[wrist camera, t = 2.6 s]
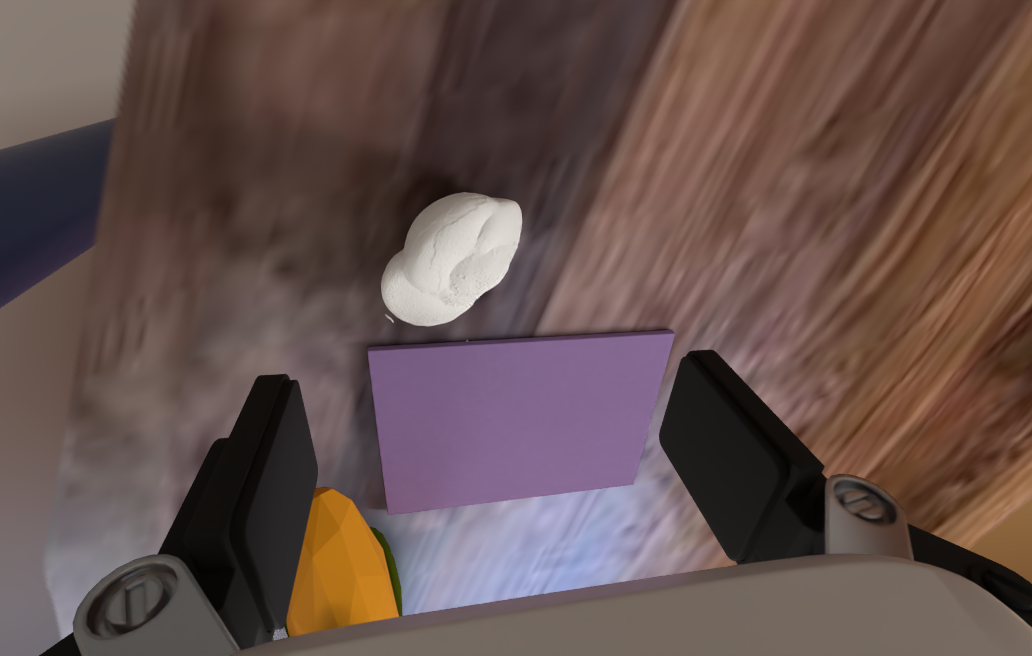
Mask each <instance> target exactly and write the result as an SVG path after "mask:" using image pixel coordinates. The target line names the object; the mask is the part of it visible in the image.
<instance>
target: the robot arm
mask: <svg viewBox="0 0 1032 656" xmlns="http://www.w3.org/2000/svg"><path fill="white" fill-rule="evenodd" d="M659 440H660V444H661V446H662V448H663V450H664V451H665V453H666V455H667V456H668V458H669V460H670V461H671V463H672V465H673V466H674V468H675V470H676V471H677V473H678V475H679V476H680V478H681V480H682V481H683V483H684V485H685V486H686V488H687V490H688V491H689V493H690V495H691V496H692V498H693V500H694V501H695V503H696V505H697V506H698V508H699V510H700V511H701V513H702V515H703V516H704V518H705V520H706V521H707V523H708V525H709V526H710V528H711V530H712V531H713V533H714V535H715V536H716V538H717V540H718V541H719V543H720V545H721V546H722V548H723V550H724V551H725V553H726V555H727V556H728V557H729V558H730V559H731V560H733V561H736V563H737V564H738V565H734V566H728V567H721V568H714V569H707V570H700V571H693V572H687V573H680V574H673V575H666V576H659V577H652V578H646V579H639V580H633V581H626V582H619V583H613V584H606V585H600V586H593V587H586V588H580V589H573V590H567V591H560V592H554V593H547V594H541V595H534V596H528V597H521V598H515V599H508V600H502V601H496V602H489V603H483V604H477V605H470V606H464V607H458V608H451V609H445V610H439V611H432V612H426V613H420V614H413V615H407V616H401V617H395V618H389V619H384V620H378V621H372V622H366V623H361V624H355V625H349V626H344V627H338V628H332V629H326V630H321V631H315V632H311V633H306V634H302V635H297V636H293V637H288V638H284V639H279V640H275V641H272V639H273V635H274V631H275V630H278V629H282V628H283V627H284V625H285V622H286V618H287V614H288V609H289V605H290V600H291V596H292V591H293V587H294V582H295V578H296V573H297V569H298V564H299V560H300V555H301V550H302V546H303V541H304V537H305V532H306V528H307V523H308V519H309V514H310V510H311V505H312V501H313V496H314V492H315V487H316V482H317V476H318V466H317V460H316V456H315V452H314V447H313V443H312V439H311V434H310V430H309V425H308V421H307V417H306V412H305V408H304V403H303V399H302V395H301V390H300V386H299V382H298V381H297V380H290V378H289V376H288V375H287V374H278V375H260V376H258V377H257V378H256V380H255V382H254V384H253V387H252V389H251V391H250V393H249V395H248V397H247V400H246V402H245V404H244V406H243V408H242V410H241V413H240V415H239V417H238V419H237V421H236V423H235V426H234V428H233V430H232V432H231V434H230V436H229V438H221V439H217V440H216V441H215V442H214V443H213V445H212V446H211V448H210V450H209V452H208V454H207V456H206V458H205V460H204V462H203V464H202V466H201V468H200V470H199V472H198V474H197V476H196V478H195V480H194V482H193V484H192V486H191V488H190V490H189V492H188V494H187V496H186V498H185V500H184V502H183V504H182V506H181V508H180V510H179V512H178V514H177V516H176V518H175V520H174V522H173V524H172V526H171V528H170V530H169V532H168V534H167V536H166V538H165V540H164V542H163V544H162V546H161V548H160V550H159V552H158V554H157V555H149V556H146V557H142V558H139V559H135V560H133V561H131V562H129V563H127V564H125V565H123V566H121V567H119V568H117V569H116V570H114V571H113V572H111V573H110V574H109V575H107V576H106V577H104V578H103V579H102V580H101V581H100V582H99V583H98V584H97V585H95V586H94V587H93V588H92V589H91V590H90V591H89V592H88V594H87V595H86V596H85V598H84V599H83V601H82V602H81V604H80V605H79V607H78V608H77V611H76V614H75V617H74V620H73V633H71V634H70V635H68V636H67V637H65V638H64V639H62V640H61V641H60V642H58V643H57V644H55V645H54V646H53V647H51V648H49V649H48V650H47V651H45V652H44V653H43V654H41V655H39V656H1032V584H1031V583H1030V582H1029V581H1027V580H1026V579H1024V578H1023V577H1021V576H1020V575H1019V574H1017V573H1016V572H1014V571H1012V570H1010V569H1008V568H1006V567H1004V566H1002V565H1001V564H999V563H996V562H994V561H992V560H990V559H987V558H985V557H983V556H980V555H978V554H976V553H973V552H971V551H969V550H967V549H964V548H962V547H960V546H958V545H955V544H953V543H951V542H949V541H946V540H944V539H942V538H939V537H937V536H935V535H933V534H930V533H928V532H926V531H923V530H921V529H919V528H917V527H914V526H912V525H910V524H908V523H907V518H906V515H905V513H904V510H903V508H902V507H901V506H900V504H899V503H898V502H897V500H896V499H895V498H893V497H892V496H891V495H890V494H889V493H888V492H887V491H885V490H884V489H882V488H881V487H879V486H878V485H876V484H875V483H872V482H870V481H868V480H866V479H864V478H861V477H857V476H854V475H849V474H837V475H832V476H831V477H830V478H828V479H827V478H826V477H825V476H824V475H823V474H822V473H821V472H822V471H823V469H824V467H825V466H824V465H823V464H822V463H821V462H820V461H819V460H818V459H817V458H816V457H815V456H814V455H813V454H812V453H811V451H810V450H809V449H808V448H807V447H806V446H805V445H804V444H803V443H802V442H801V441H800V440H799V439H798V438H797V437H796V436H795V435H794V434H793V433H792V431H791V430H790V429H789V428H788V427H787V426H786V425H785V424H784V423H783V422H782V421H781V420H780V419H779V418H778V417H777V416H776V415H775V414H774V413H773V411H772V410H771V409H770V408H769V407H768V406H767V405H766V404H765V403H764V402H763V401H762V400H761V399H760V398H759V397H758V396H757V395H756V394H755V393H754V392H753V390H752V389H751V388H750V387H749V386H748V385H747V384H746V383H745V382H744V381H743V380H742V379H741V378H740V377H739V376H738V375H737V374H736V373H735V372H734V370H733V369H732V368H731V367H730V366H729V365H728V364H727V363H726V362H725V361H724V360H723V359H722V358H721V357H720V356H719V355H718V354H717V353H716V352H715V351H714V350H697V351H690V352H689V353H688V354H687V356H686V357H683V358H682V359H681V362H680V365H679V368H678V371H677V375H676V378H675V382H674V385H673V388H672V392H671V395H670V398H669V402H668V405H667V409H666V412H665V415H664V419H663V422H662V425H661V429H660V433H659Z"/></svg>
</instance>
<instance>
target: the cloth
mask: <svg viewBox="0 0 1032 656" xmlns="http://www.w3.org/2000/svg"><path fill="white" fill-rule="evenodd" d="M674 335H675V333H674V332H673V331H672V330H660V331H642V332H625V333H607V334H589V335H572V336H554V337H536V338H519V339H501V340H483V341H466V342H448V343H430V344H413V345H395V346H377V347H368V350H367V353H368V361H369V369H370V377H371V385H372V393H373V401H374V409H375V417H376V425H377V433H378V441H379V449H380V457H381V465H382V473H383V481H384V489H385V497H386V505H387V513H388V515H395V514H403V513H411V512H419V511H426V510H434V509H442V508H450V507H458V506H466V505H474V504H482V503H490V502H498V501H506V500H514V499H522V498H530V497H538V496H546V495H554V494H562V493H570V492H578V491H586V490H594V489H602V488H609V487H617V486H625V485H633V484H634V480H635V476H636V473H637V469H638V466H639V462H640V458H641V455H642V451H643V447H644V444H645V440H646V437H647V433H648V429H649V426H650V422H651V418H652V415H653V411H654V408H655V404H656V400H657V397H658V393H659V389H660V386H661V382H662V379H663V375H664V371H665V368H666V364H667V360H668V357H669V353H670V350H671V346H672V342H673V339H674Z"/></svg>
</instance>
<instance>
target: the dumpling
mask: <svg viewBox="0 0 1032 656" xmlns="http://www.w3.org/2000/svg"><path fill="white" fill-rule="evenodd" d="M521 226H522V214H521V209H520V207H519V205H518V204H517V203H516V202H515V201H512V200H509V199H503V198H491V197H488V196H485V195H482V194H477V193H467V192H463V193H456V194H452V195H449V196H446V197H444V198H441V199H439V200H437V201H436V202H433V203H432V204H431V205H429V206H428V207H427V208H425V209H424V210H423V211H422V212H421V213H420V214H419V215H418V216H417V217H416V219H415V220H414V222H413V223H412V225H411V227H410V229H409V231H408V234H407V237H406V241H405V245H404V249H403V250H402V251H400V252H398V253H397V254H396V255H395V256H393V257H392V259H391V260H390V261H389V263H388V264H387V266H386V269H385V271H384V274H383V277H382V281H381V292H382V298H383V301H384V302H385V304H386V306H387V308H388V309H389V310H390V311H391V312H392V313H393V314H394V315H395V316H396V317H397V318H399V319H401V320H403V321H405V322H409V323H411V324H413V325H417V326H433V325H438V324H443V323H447V322H449V321H452V320H454V319H455V318H457V317H458V316H459V315H460V314H462V313H464V312H465V311H466V310H468V309H469V308H470V307H471V306H473V303H474V301H475V300H476V299H478V298H479V296H480V295H483V293H484V292H486V291H488V290H489V289H491V288H493V287H494V286H496V285H497V284H498V283H500V281H501V280H502V279H503V278H504V275H505V274H506V272H507V271H508V269H509V264H510V262H511V261H512V258H513V256H514V254H515V251H516V250H517V247H518V243H519V238H520V233H521ZM385 315H386V314H385ZM386 317H387V318H388V319H390V320H391V321H392V322H393V323H394V321H393V320H392V319H391V318H390V317H389V316H387V315H386ZM466 341H468V340H466Z"/></svg>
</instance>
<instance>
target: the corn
mask: <svg viewBox="0 0 1032 656" xmlns="http://www.w3.org/2000/svg"><path fill="white" fill-rule="evenodd" d="M401 616H402V598H401V586H400V582H399V577H398V573H397V569H396V564H395V561H394V558H393V555H392V553H391V550H390V547H389V545H388V543H387V541H386V539H385V538H384V536H383V534H382V533H381V532H379V531H378V530H377V529H376V528H372V527H369V526H368V525H367V523H366V522H365V520H364V519H363V517H362V515H361V514H360V512H359V511H358V509H357V508H356V506H355V504H354V503H353V501H352V500H351V499H349V498H347V497H346V496H344V495H342V494H341V493H339V492H337V491H336V490H334V489H332V488H327V487H323V488H315V492H314V496H313V501H312V505H311V510H310V514H309V519H308V523H307V528H306V532H305V537H304V541H303V546H302V550H301V555H300V560H299V564H298V569H297V573H296V578H295V582H294V587H293V591H292V596H291V600H290V605H289V609H288V614H287V618H286V622H285V625H284V627H285V630H286V632H287V635H288V637H293V636H297V635H302V634H306V633H311V632H315V631H321V630H326V629H332V628H338V627H344V626H349V625H355V624H361V623H366V622H372V621H378V620H384V619H389V618H395V617H401ZM272 641H273V639H272Z"/></svg>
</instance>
